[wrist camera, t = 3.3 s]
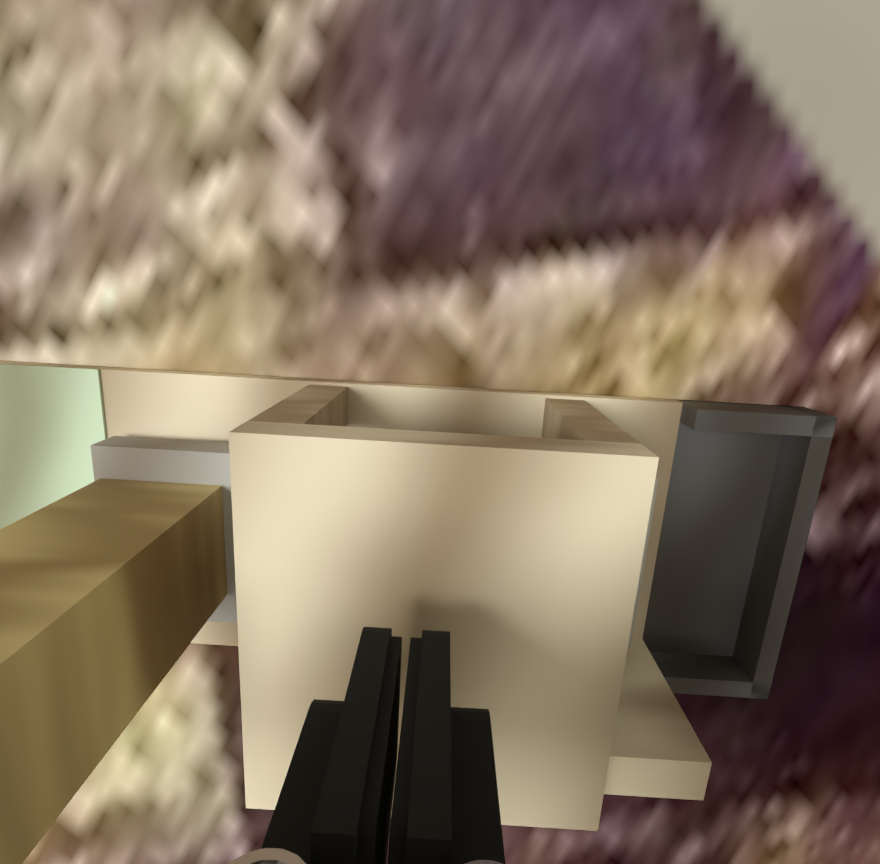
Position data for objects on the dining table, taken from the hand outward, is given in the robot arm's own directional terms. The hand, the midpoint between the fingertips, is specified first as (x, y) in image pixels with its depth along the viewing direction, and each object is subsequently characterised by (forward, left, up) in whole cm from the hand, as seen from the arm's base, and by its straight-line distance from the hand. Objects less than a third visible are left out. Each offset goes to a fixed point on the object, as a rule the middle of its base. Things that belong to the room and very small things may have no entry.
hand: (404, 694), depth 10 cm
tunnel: (+3, 0, -8) cm, 9 cm away
